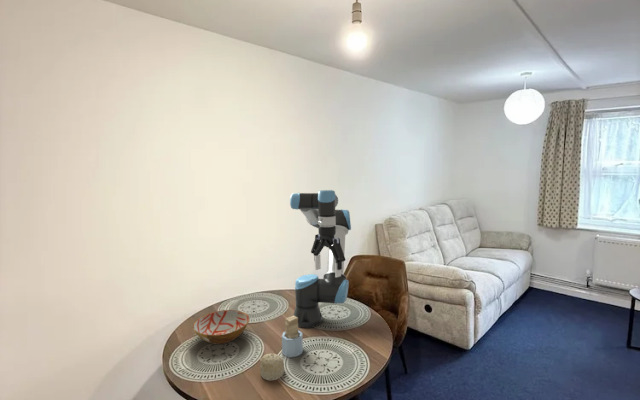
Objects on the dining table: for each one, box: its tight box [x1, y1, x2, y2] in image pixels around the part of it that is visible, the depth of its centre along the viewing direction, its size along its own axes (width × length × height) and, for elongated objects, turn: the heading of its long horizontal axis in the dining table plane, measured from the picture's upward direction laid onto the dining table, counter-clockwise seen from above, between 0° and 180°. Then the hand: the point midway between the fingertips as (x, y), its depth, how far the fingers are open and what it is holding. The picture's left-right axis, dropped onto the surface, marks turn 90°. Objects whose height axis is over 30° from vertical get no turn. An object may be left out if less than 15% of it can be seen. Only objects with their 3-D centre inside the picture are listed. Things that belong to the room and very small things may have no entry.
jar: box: [281, 329, 304, 358], centre depth 140 cm, size 9×9×8 cm
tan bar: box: [284, 315, 299, 339], centre depth 140 cm, size 3×4×14 cm, turn 130°
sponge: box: [259, 353, 285, 382], centre depth 126 cm, size 9×10×10 cm
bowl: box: [192, 309, 250, 345], centre depth 152 cm, size 25×25×8 cm
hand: (327, 273), depth 145 cm, fingers open, 13 cm apart
